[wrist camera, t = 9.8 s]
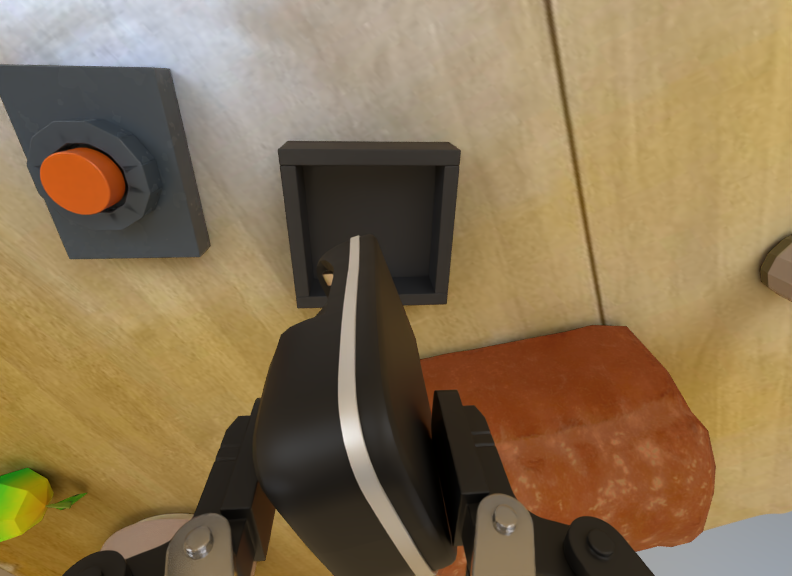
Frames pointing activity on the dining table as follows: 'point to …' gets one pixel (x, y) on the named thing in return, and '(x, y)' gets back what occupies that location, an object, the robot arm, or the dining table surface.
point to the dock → (372, 210)
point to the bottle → (779, 269)
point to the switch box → (112, 155)
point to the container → (148, 535)
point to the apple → (26, 502)
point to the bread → (588, 432)
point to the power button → (82, 180)
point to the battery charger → (354, 428)
